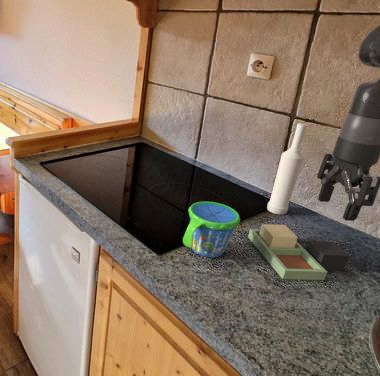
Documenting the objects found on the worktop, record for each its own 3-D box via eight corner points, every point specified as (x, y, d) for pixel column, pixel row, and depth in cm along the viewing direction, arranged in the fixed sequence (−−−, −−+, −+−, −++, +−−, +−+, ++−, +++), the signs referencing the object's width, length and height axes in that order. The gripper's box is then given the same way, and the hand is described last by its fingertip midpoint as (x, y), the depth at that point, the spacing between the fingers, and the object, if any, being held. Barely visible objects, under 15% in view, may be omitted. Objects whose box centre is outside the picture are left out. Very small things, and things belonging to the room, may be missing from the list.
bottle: (263, 205, 116) (286, 121, 105) (281, 206, 116) (307, 121, 105) (271, 214, 111) (297, 126, 101) (290, 215, 111) (318, 127, 101)
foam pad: (280, 238, 99) (285, 224, 97) (292, 251, 94) (297, 237, 92) (257, 238, 99) (261, 224, 97) (268, 251, 94) (273, 236, 92)
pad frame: (283, 237, 100) (285, 230, 99) (324, 280, 85) (327, 271, 84) (247, 236, 100) (249, 229, 100) (282, 279, 85) (285, 270, 84)
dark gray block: (328, 256, 93) (333, 241, 92) (343, 270, 88) (349, 255, 87) (303, 255, 94) (308, 240, 92) (318, 270, 88) (323, 254, 87)
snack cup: (197, 270, 87) (206, 230, 83) (164, 246, 96) (171, 208, 92) (248, 253, 94) (258, 215, 89) (212, 232, 102) (221, 196, 98)
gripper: (409, 149, 73) (377, 227, 80) (356, 127, 86) (332, 195, 93) (367, 148, 73) (338, 226, 80) (321, 126, 86) (299, 194, 93)
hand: (335, 209), depth 86 cm, fingers open, 8 cm apart
